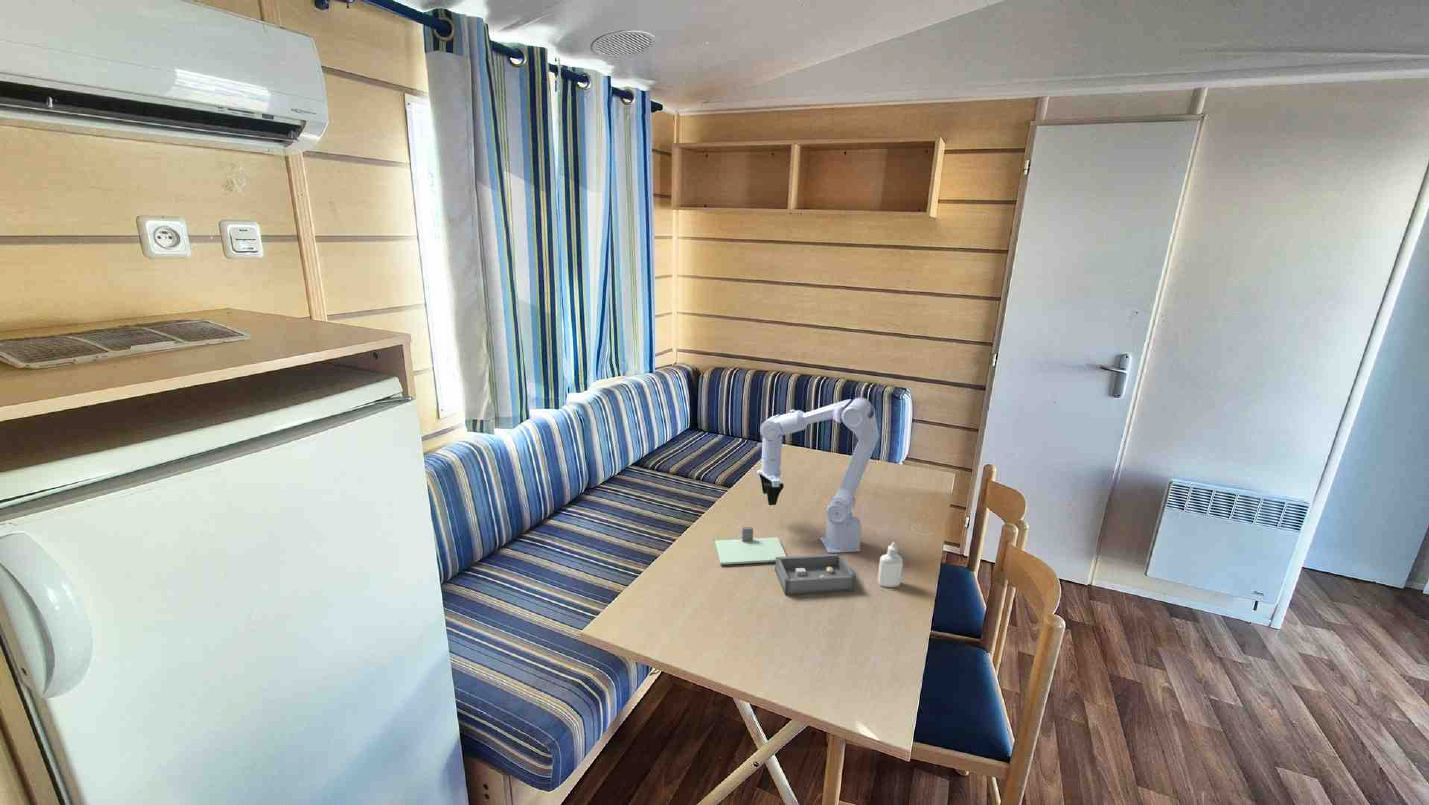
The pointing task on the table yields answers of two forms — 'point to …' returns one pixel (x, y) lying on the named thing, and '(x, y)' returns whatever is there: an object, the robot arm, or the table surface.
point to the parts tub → (814, 574)
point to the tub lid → (749, 549)
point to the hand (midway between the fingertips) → (769, 498)
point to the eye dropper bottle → (890, 568)
